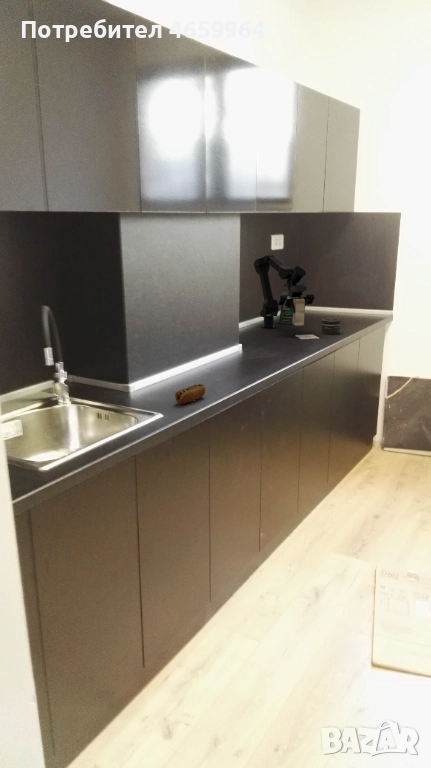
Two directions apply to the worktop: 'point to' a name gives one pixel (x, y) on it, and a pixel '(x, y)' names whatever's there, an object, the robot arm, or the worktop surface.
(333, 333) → the jar
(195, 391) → the hot dog
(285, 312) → the coffee jar
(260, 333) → the worktop surface
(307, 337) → the card
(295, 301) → the oak block
